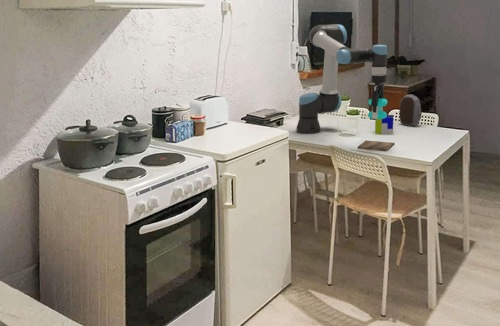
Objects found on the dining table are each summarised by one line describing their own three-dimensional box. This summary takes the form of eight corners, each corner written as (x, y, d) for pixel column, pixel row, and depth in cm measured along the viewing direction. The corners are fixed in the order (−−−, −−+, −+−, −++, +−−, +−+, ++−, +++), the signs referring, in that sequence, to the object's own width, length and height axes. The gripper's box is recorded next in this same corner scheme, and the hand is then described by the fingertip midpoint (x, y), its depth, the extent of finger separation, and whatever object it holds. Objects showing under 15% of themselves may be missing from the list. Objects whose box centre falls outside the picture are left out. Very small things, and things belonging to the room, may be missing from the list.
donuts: (389, 98, 284) (385, 101, 275) (388, 116, 286) (385, 120, 277) (370, 97, 288) (366, 100, 279) (369, 115, 290) (365, 119, 281)
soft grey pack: (396, 124, 345) (397, 93, 339) (404, 122, 349) (406, 92, 344) (415, 127, 333) (417, 96, 327) (423, 125, 338) (425, 94, 332)
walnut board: (357, 148, 285) (357, 146, 285) (365, 142, 298) (365, 140, 298) (387, 151, 278) (387, 149, 277) (394, 144, 291) (394, 142, 291)
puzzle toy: (392, 134, 316) (393, 118, 313) (375, 134, 318) (376, 117, 315) (391, 130, 326) (392, 114, 323) (375, 130, 328) (375, 114, 325)
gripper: (380, 77, 266) (378, 120, 272) (391, 72, 286) (389, 113, 291) (365, 76, 270) (364, 119, 276) (377, 72, 289) (375, 112, 295)
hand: (377, 116), depth 284 cm, fingers closed on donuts, 10 cm apart
